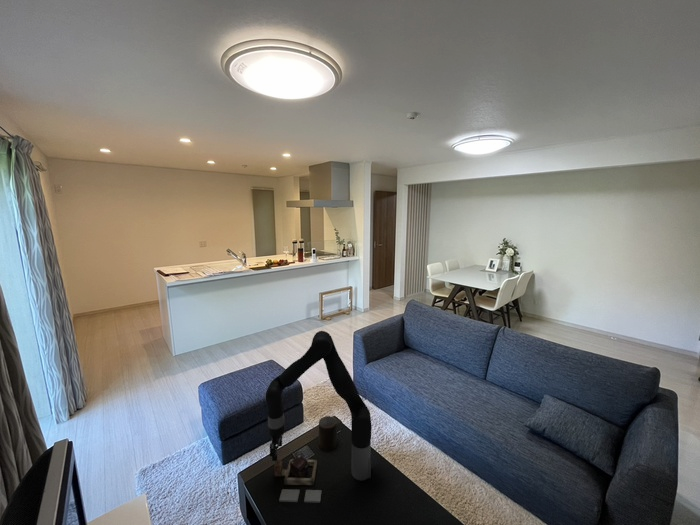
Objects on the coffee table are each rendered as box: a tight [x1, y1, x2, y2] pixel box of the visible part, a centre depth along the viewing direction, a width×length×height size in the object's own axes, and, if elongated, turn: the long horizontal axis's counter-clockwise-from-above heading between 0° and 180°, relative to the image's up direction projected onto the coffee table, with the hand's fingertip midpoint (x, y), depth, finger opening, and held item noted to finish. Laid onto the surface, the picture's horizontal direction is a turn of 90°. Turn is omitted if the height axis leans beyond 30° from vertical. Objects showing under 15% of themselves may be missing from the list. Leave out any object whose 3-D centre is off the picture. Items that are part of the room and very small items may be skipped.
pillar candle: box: [318, 415, 338, 452], centre depth 156 cm, size 10×10×15 cm
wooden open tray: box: [273, 458, 318, 486], centre depth 138 cm, size 20×11×6 cm, turn 88°
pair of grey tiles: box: [278, 488, 322, 504], centre depth 128 cm, size 18×5×1 cm, turn 88°
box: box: [290, 454, 309, 478], centre depth 138 cm, size 6×6×7 cm
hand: (277, 452), depth 137 cm, fingers open, 8 cm apart
